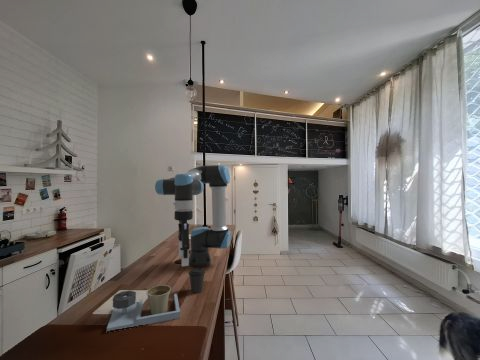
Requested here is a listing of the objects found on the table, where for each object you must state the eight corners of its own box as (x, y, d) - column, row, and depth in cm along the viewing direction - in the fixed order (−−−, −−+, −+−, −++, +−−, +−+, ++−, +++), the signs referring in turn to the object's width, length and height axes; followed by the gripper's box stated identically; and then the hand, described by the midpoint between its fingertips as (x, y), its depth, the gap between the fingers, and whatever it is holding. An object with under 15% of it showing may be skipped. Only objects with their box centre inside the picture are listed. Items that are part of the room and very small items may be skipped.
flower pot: (156, 321, 84) (156, 298, 84) (141, 313, 89) (141, 291, 89) (175, 309, 92) (175, 288, 92) (160, 303, 97) (160, 283, 97)
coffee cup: (208, 288, 111) (208, 268, 112) (200, 295, 104) (200, 274, 104) (193, 285, 114) (194, 266, 114) (184, 293, 106) (185, 271, 107)
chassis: (176, 298, 101) (177, 281, 101) (179, 318, 86) (180, 297, 86) (115, 309, 92) (115, 289, 93) (106, 332, 77) (106, 309, 78)
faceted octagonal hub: (136, 297, 91) (136, 289, 91) (134, 306, 84) (134, 298, 84) (115, 300, 89) (115, 292, 89) (111, 310, 82) (111, 301, 82)
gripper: (172, 207, 105) (172, 252, 105) (176, 214, 82) (176, 272, 82) (188, 207, 108) (188, 251, 108) (197, 213, 85) (196, 269, 84)
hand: (183, 260), depth 95 cm, fingers open, 13 cm apart
